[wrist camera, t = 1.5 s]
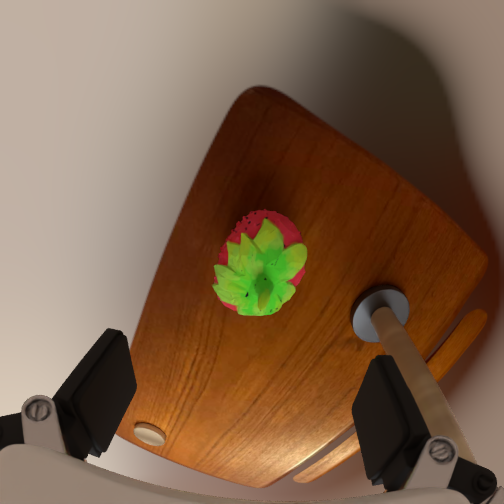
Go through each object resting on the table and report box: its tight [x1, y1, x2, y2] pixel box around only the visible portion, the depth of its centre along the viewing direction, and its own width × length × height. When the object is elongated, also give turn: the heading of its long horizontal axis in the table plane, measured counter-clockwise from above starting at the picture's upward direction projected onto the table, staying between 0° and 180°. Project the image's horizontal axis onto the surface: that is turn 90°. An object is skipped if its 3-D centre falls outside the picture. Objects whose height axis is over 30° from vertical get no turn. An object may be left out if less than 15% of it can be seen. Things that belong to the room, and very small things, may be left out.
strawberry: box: [212, 209, 307, 316], centre depth 20 cm, size 6×7×10 cm
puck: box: [134, 423, 166, 446], centre depth 35 cm, size 5×5×1 cm
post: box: [350, 285, 477, 464], centre depth 17 cm, size 6×6×20 cm
